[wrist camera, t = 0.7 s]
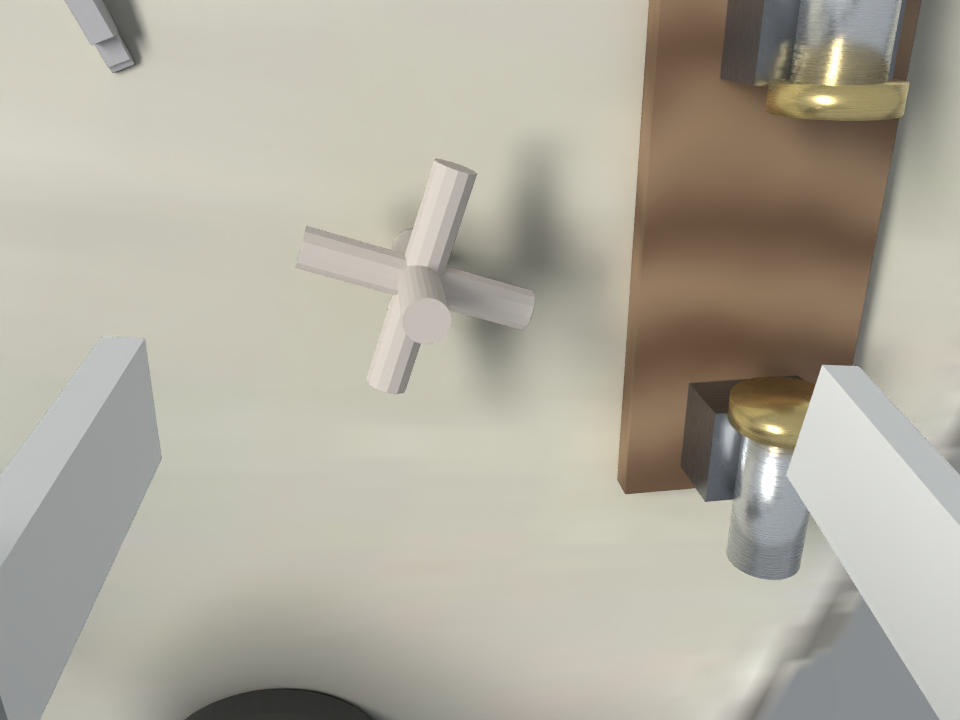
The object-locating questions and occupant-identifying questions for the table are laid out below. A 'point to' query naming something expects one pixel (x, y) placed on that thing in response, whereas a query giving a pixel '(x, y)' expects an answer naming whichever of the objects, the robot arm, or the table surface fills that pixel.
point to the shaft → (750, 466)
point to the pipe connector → (418, 278)
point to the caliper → (101, 32)
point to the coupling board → (738, 235)
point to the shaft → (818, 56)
